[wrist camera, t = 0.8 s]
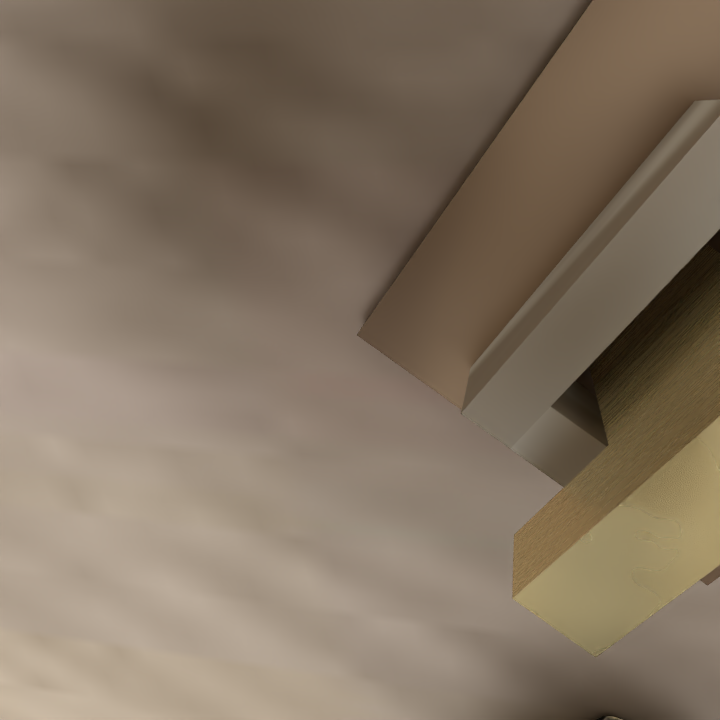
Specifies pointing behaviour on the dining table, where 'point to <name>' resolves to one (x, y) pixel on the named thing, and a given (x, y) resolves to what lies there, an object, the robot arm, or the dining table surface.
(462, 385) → the board
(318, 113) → the dining table surface
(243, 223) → the dining table surface
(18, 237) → the dining table surface
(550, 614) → the gold rectangular bar
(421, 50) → the dining table surface
